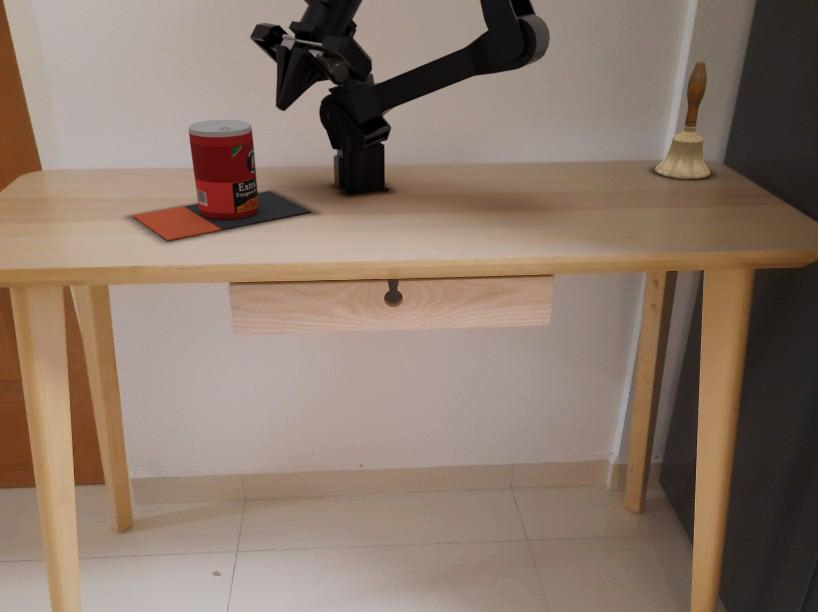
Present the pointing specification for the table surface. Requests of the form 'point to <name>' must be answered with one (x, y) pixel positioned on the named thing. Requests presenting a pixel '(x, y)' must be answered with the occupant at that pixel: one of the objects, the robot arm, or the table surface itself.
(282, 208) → the mat
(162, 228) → the pad
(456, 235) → the table surface
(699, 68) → the hand bell
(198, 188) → the canned food
